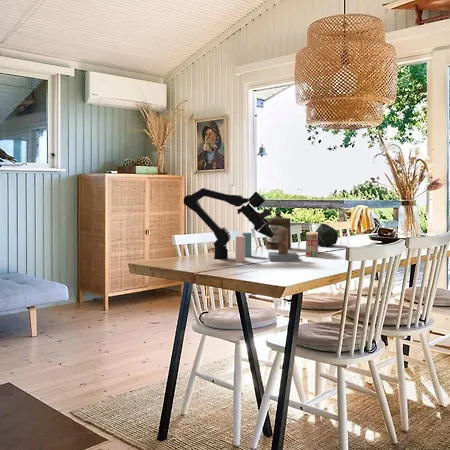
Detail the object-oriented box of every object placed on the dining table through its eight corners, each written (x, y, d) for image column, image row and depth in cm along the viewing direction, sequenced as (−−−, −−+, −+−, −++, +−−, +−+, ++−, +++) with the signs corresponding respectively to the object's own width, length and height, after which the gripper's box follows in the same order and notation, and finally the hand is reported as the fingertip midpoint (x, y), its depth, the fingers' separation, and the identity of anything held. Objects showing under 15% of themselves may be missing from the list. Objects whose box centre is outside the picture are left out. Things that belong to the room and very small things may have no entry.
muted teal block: (242, 256, 289) (242, 233, 288) (242, 255, 294) (242, 232, 293) (251, 256, 289) (251, 233, 288) (251, 255, 294) (251, 232, 293)
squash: (345, 237, 342) (330, 218, 346) (337, 240, 329) (321, 221, 333) (329, 251, 348) (314, 232, 352) (320, 254, 336) (305, 235, 340)
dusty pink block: (235, 262, 269) (235, 236, 268) (235, 260, 274) (235, 236, 273) (244, 262, 269) (245, 236, 268) (244, 260, 274) (244, 236, 273)
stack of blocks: (306, 252, 311) (306, 230, 310) (317, 252, 310) (318, 230, 309) (305, 256, 290) (305, 233, 289) (317, 257, 289) (317, 233, 288)
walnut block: (278, 254, 276) (278, 229, 275) (279, 253, 281) (279, 228, 280) (287, 254, 276) (287, 229, 275) (287, 253, 280) (288, 228, 279)
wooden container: (262, 249, 324) (262, 212, 323) (270, 246, 338) (270, 211, 336) (286, 250, 319) (286, 212, 317) (293, 247, 332) (293, 211, 331)
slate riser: (270, 261, 271) (270, 255, 271) (268, 257, 285) (268, 252, 285) (298, 261, 271) (298, 255, 271) (295, 257, 285) (295, 252, 285)
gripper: (260, 204, 269) (283, 226, 268) (264, 202, 287) (285, 224, 286) (244, 219, 271) (266, 242, 270) (249, 217, 289) (269, 238, 288)
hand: (272, 236), depth 278 cm, fingers open, 9 cm apart
